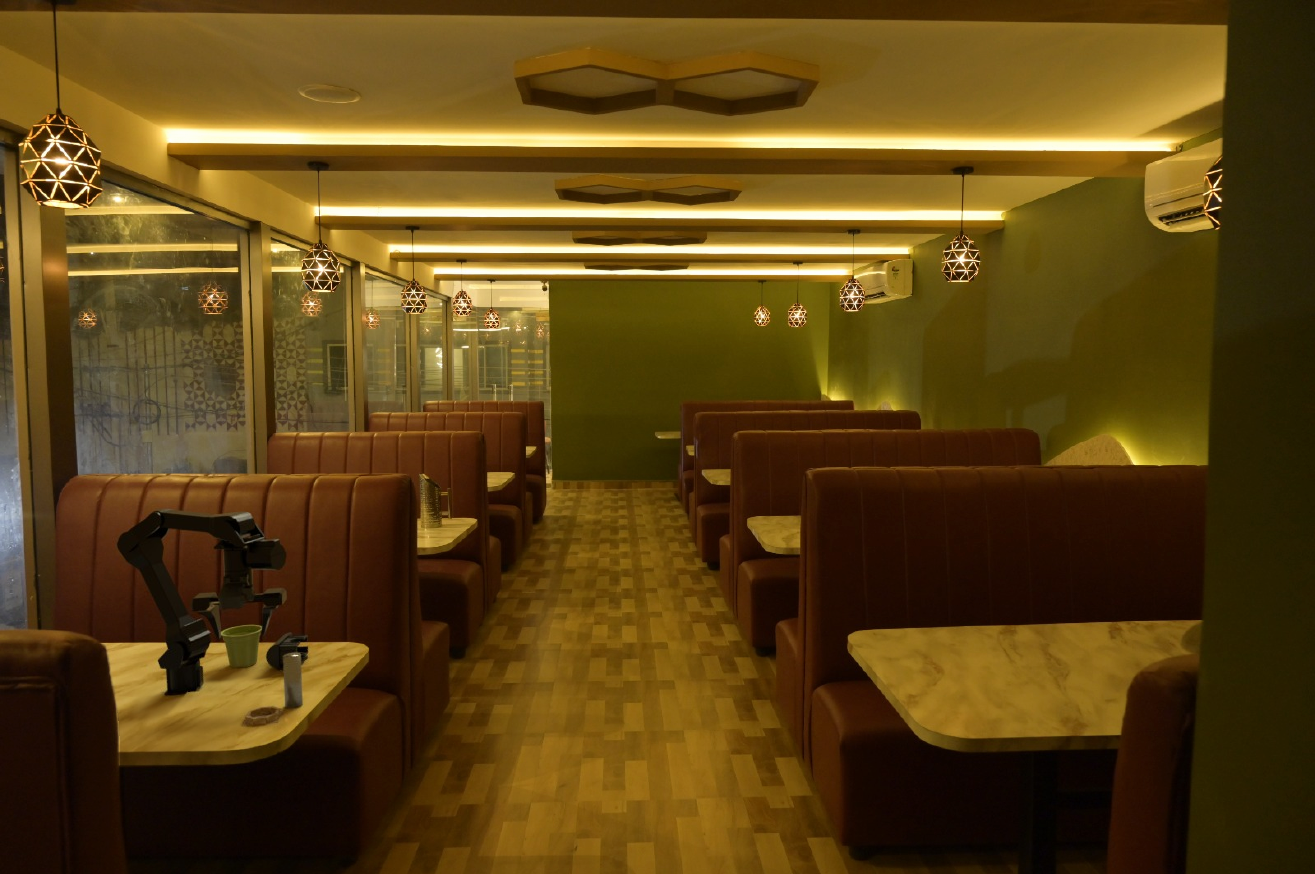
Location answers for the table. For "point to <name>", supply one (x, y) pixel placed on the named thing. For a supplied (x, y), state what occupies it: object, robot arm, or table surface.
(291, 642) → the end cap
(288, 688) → the peg
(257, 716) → the ring stand
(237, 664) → the plant pot
